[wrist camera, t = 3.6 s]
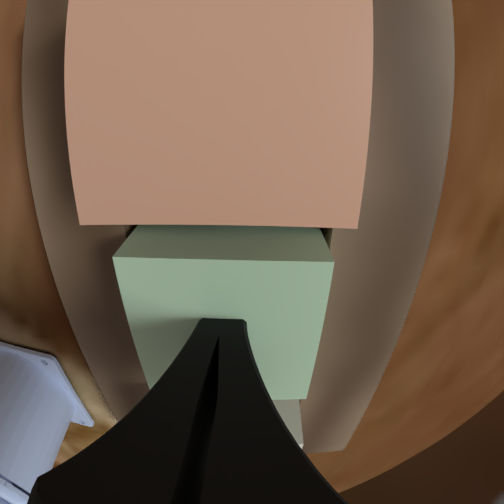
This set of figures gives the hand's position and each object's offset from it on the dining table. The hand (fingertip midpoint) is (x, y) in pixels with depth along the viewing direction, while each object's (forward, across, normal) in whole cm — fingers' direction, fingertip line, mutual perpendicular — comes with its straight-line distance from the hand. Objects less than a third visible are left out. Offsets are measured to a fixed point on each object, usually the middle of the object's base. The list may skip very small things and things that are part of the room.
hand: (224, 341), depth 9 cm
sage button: (+3, 0, 0) cm, 3 cm away
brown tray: (+4, 0, 0) cm, 4 cm away
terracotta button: (+2, 0, -8) cm, 8 cm away
